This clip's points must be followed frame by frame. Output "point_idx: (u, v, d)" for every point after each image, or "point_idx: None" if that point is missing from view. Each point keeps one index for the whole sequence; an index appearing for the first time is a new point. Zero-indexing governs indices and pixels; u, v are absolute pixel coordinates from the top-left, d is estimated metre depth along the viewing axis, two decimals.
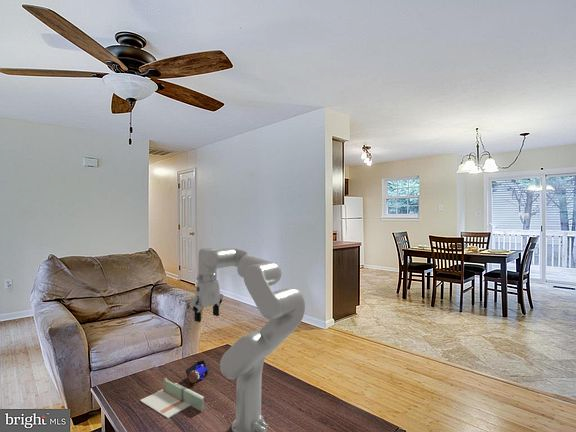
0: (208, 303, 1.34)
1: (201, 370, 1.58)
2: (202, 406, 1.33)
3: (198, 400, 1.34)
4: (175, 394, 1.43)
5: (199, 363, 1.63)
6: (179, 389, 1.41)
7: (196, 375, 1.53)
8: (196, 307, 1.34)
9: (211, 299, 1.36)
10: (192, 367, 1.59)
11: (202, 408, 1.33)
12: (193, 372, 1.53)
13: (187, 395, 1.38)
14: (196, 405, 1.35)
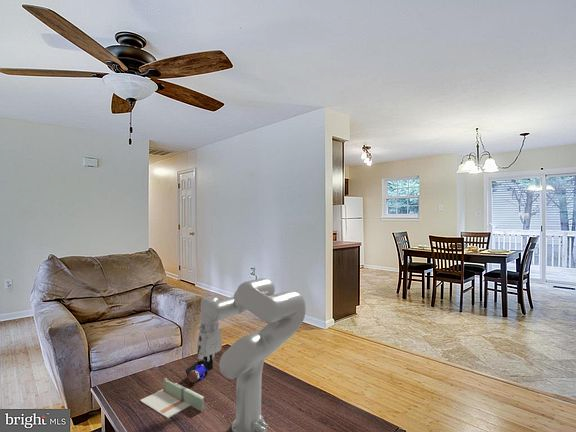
0: (210, 352, 1.36)
1: (201, 370, 1.58)
2: (202, 406, 1.33)
3: (198, 400, 1.34)
4: (175, 394, 1.43)
5: (199, 363, 1.63)
6: (179, 389, 1.41)
7: (196, 375, 1.53)
8: None
9: (213, 348, 1.37)
10: (192, 367, 1.59)
11: (202, 408, 1.33)
12: (193, 372, 1.54)
13: (187, 395, 1.38)
14: (196, 405, 1.35)
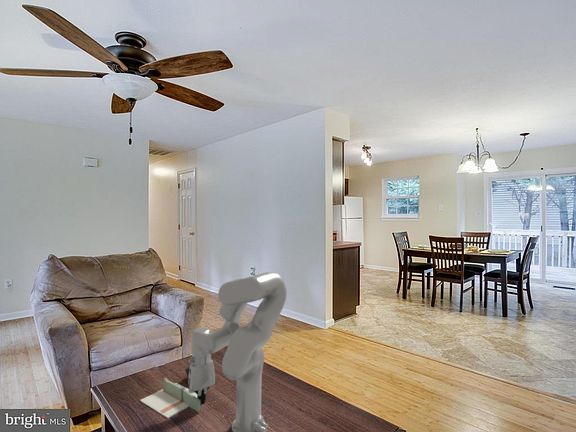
0: (199, 386, 1.32)
1: None
2: (198, 408, 1.32)
3: (195, 401, 1.33)
4: (175, 394, 1.43)
5: None
6: (179, 389, 1.41)
7: None
8: None
9: (203, 382, 1.33)
10: None
11: (198, 410, 1.32)
12: None
13: (186, 395, 1.38)
14: (193, 407, 1.34)
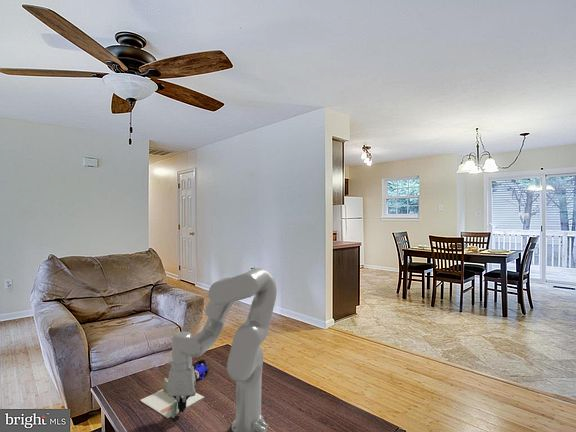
0: (175, 392, 1.28)
1: (201, 369, 1.59)
2: (172, 413, 1.28)
3: None
4: None
5: (200, 362, 1.64)
6: None
7: (195, 374, 1.54)
8: None
9: (179, 389, 1.28)
10: None
11: (172, 416, 1.28)
12: None
13: None
14: None
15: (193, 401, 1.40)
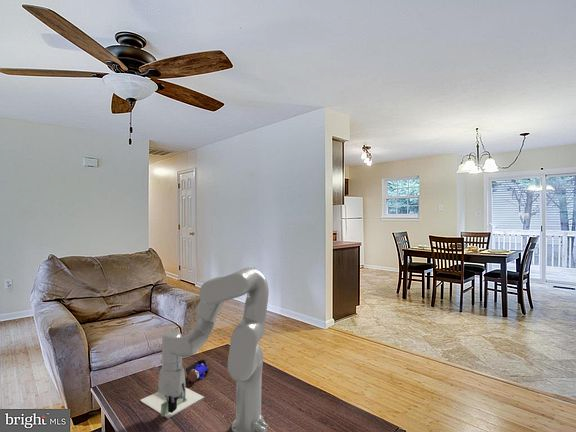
0: (163, 391, 1.28)
1: (201, 369, 1.59)
2: (162, 412, 1.29)
3: None
4: None
5: (200, 362, 1.64)
6: None
7: (195, 374, 1.54)
8: None
9: (167, 389, 1.28)
10: (192, 366, 1.60)
11: (162, 414, 1.29)
12: (193, 371, 1.54)
13: None
14: None
15: (193, 401, 1.40)
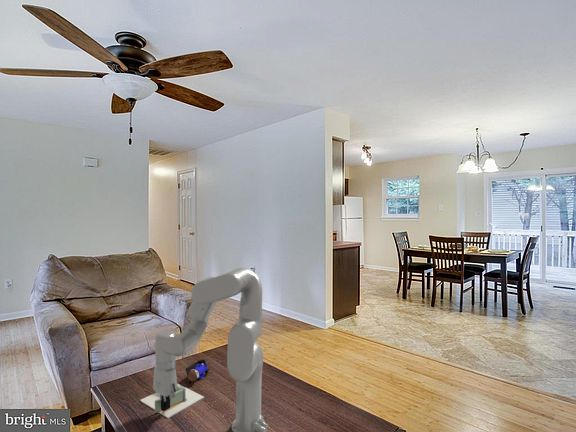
0: (156, 389, 1.30)
1: (201, 369, 1.59)
2: (155, 408, 1.31)
3: None
4: None
5: (200, 362, 1.64)
6: (179, 389, 1.41)
7: (195, 374, 1.54)
8: None
9: (159, 387, 1.29)
10: (192, 366, 1.60)
11: (155, 410, 1.31)
12: (192, 371, 1.55)
13: None
14: None
15: (193, 401, 1.40)
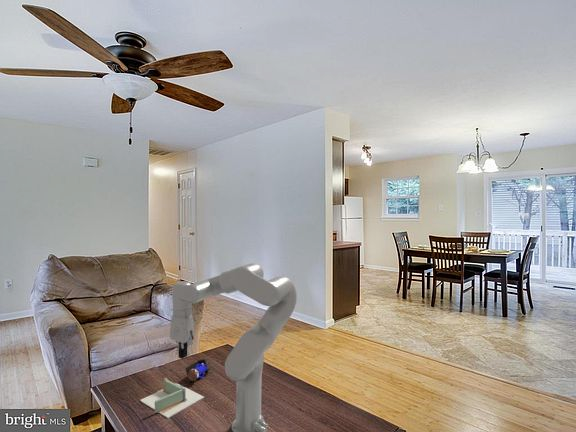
0: (174, 337, 1.33)
1: (201, 369, 1.59)
2: (155, 408, 1.31)
3: None
4: None
5: (200, 362, 1.65)
6: (179, 389, 1.41)
7: (195, 374, 1.54)
8: None
9: (176, 335, 1.32)
10: (192, 365, 1.61)
11: (155, 410, 1.31)
12: (192, 370, 1.55)
13: None
14: None
15: (193, 401, 1.40)
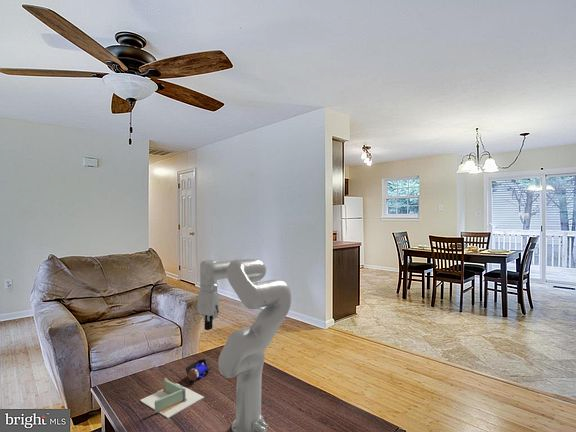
0: (200, 310, 1.45)
1: (201, 368, 1.60)
2: (155, 408, 1.31)
3: None
4: None
5: (200, 361, 1.65)
6: (179, 389, 1.41)
7: (195, 373, 1.54)
8: (207, 315, 1.47)
9: (203, 308, 1.44)
10: (193, 365, 1.61)
11: (155, 410, 1.31)
12: (192, 370, 1.55)
13: None
14: None
15: (193, 401, 1.40)
